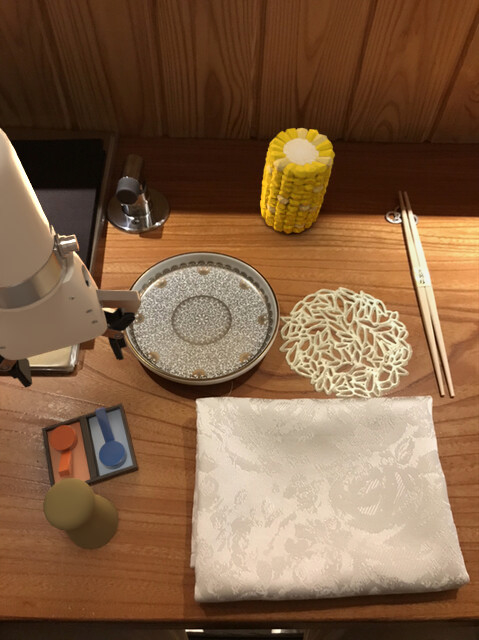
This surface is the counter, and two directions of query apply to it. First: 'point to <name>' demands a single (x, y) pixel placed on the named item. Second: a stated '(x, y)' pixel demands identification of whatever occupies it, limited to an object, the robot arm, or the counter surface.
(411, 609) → the counter surface
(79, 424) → the sorting tray
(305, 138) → the food
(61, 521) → the olive waisted cylinder
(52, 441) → the terracotta spoon
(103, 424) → the blue spoon
